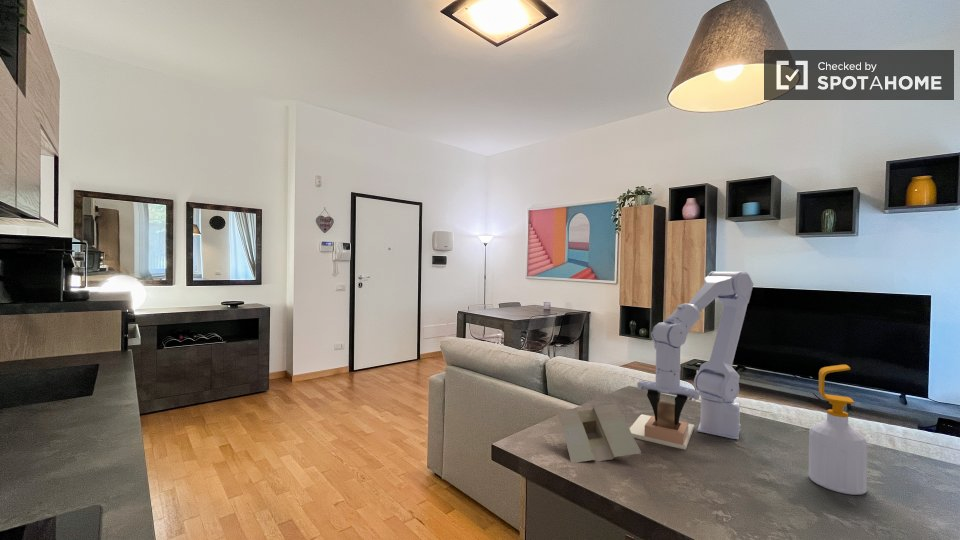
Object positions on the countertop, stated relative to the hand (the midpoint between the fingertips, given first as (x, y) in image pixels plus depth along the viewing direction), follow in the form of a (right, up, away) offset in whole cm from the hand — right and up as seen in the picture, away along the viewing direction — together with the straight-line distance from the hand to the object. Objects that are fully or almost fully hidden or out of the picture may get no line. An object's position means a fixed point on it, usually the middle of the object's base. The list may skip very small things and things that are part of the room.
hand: (666, 421), depth 106 cm
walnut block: (0, -2, 0) cm, 2 cm away
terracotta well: (0, -3, 0) cm, 3 cm away
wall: (-20, -4, -8) cm, 22 cm away
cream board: (0, -4, +4) cm, 6 cm away
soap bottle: (+25, -5, -22) cm, 34 cm away
